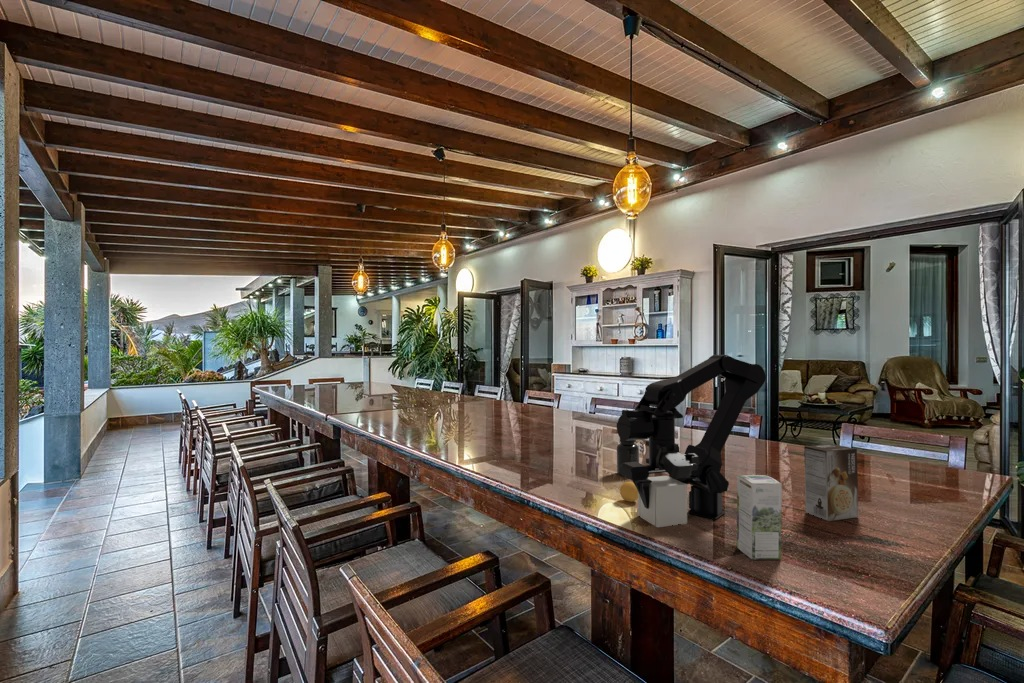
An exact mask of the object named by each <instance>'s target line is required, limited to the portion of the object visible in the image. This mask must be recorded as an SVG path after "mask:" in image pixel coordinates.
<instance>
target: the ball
mask: <svg viewBox="0 0 1024 683" xmlns="http://www.w3.org/2000/svg"><path fill="white" fill-rule="evenodd" d="M619 493H620V494H619V495H620V497H621V498H622V499H623V500H624V501H626V502H628V503H633V502H635V501H638V490H637V488H636V486H635V484H634V483H633V481H631V480H630V481H625V482H623V483H622V484H621V486H620V489H619Z"/></svg>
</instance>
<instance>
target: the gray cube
mask: <svg viewBox="0 0 1024 683" xmlns="http://www.w3.org/2000/svg"><path fill="white" fill-rule="evenodd" d="M648 479H649V480H651V481H652V482H651V484H650V486H649V508H648V509H647V508H645V507H644V504H643V502H642V500H641V497H640V495H639V492H638V499H637V505H638V506H637V507H638V508H637V516H638V517H639V516H640V518H641V519H643V520H644V521H646V522H648V523H649V524H651V525H653V526H654V527H656V528H663V527H664V528H666V527H672V525H673V526H679V525H678V524H681V525H687V524H688V484H685V483H683V482H680V481H678V480H675V479H673V478H672V477H670V476H669V475H660V476H648Z"/></svg>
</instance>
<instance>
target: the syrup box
mask: <svg viewBox="0 0 1024 683" xmlns="http://www.w3.org/2000/svg"><path fill="white" fill-rule="evenodd" d="M782 488H783V486H782V483H781V482H779V480H776V479H775V478H773V477H771V476H768V475H763V474H762V475H757V474H755V475H754V474H752V475H751V474H750V475H748V474H747V475H743V474H742V475H737V476H736V548H737V549H738V550H740V552H742V553H743V554H744V555H745V556H747V557H748V558H749V559H750V560H756V561H758V560H759V561H760V560H761V561H762V560H764V561H765V560H767V561H769V560H782V504H783V503H782V502H783V501H782V499H783V498H782V495H783V494H782V493H783V492H782Z"/></svg>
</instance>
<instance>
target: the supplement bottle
mask: <svg viewBox="0 0 1024 683" xmlns="http://www.w3.org/2000/svg"><path fill="white" fill-rule="evenodd" d="M636 441H637V440H629V441H623V440H622V439H621V438H620V437H619V443H618V444H617V445H616V473H617V474H618V475H619V474H620V467H621V465H622V464H623V463H627V462H638V463H640V448H639V445H638V444H636Z"/></svg>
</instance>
